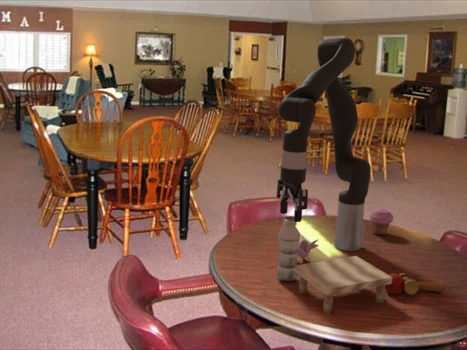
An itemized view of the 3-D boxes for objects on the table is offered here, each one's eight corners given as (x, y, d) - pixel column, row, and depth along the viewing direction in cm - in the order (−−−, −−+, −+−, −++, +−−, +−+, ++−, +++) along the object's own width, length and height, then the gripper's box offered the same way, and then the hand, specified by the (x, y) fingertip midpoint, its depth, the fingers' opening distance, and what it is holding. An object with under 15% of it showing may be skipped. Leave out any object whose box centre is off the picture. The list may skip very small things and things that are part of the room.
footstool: (354, 279, 178) (356, 255, 176) (389, 302, 163) (392, 277, 161) (293, 290, 169) (295, 265, 167) (325, 316, 154) (327, 289, 152)
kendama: (431, 289, 177) (377, 282, 174) (438, 272, 174) (383, 265, 171) (442, 304, 170) (385, 298, 167) (449, 287, 167) (392, 280, 164)
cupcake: (367, 235, 219) (369, 210, 216) (369, 228, 227) (371, 204, 224) (391, 238, 216) (393, 213, 214) (391, 231, 224) (394, 207, 222)
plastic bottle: (296, 285, 173) (300, 222, 168) (274, 282, 174) (278, 220, 169) (298, 276, 179) (302, 216, 174) (277, 274, 180) (280, 214, 176)
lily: (323, 262, 194) (313, 235, 195) (331, 262, 182) (320, 233, 184) (290, 273, 193) (281, 247, 194) (296, 274, 181) (286, 245, 182)
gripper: (317, 170, 163) (313, 223, 167) (292, 159, 176) (289, 209, 180) (295, 171, 160) (291, 226, 164) (271, 161, 173) (268, 211, 177)
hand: (290, 217), depth 172 cm, fingers open, 8 cm apart
